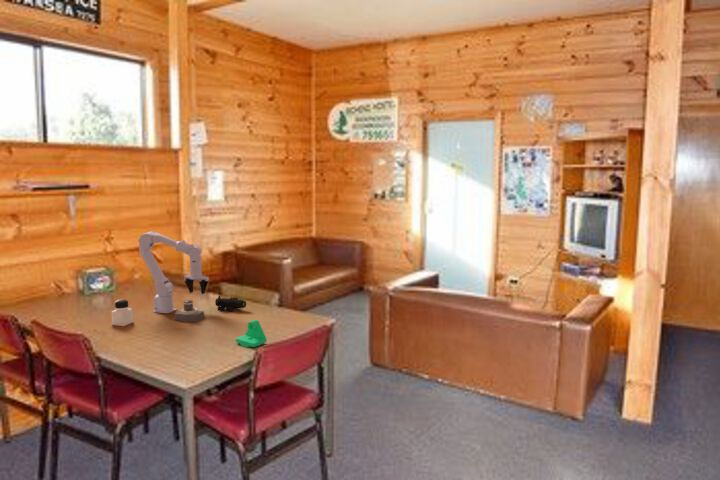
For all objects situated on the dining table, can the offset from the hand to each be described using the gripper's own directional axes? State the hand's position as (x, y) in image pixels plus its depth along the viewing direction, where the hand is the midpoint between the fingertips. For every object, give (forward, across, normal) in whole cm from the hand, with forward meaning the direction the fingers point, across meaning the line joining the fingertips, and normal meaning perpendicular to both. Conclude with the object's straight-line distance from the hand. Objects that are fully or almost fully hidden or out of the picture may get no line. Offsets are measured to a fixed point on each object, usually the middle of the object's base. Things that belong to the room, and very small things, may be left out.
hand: (197, 293), depth 279 cm
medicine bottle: (+10, -22, -31) cm, 39 cm away
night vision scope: (+10, +16, +7) cm, 20 cm away
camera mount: (+10, +54, -37) cm, 66 cm away
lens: (+6, +5, -14) cm, 17 cm away
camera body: (+10, +5, -14) cm, 18 cm away
